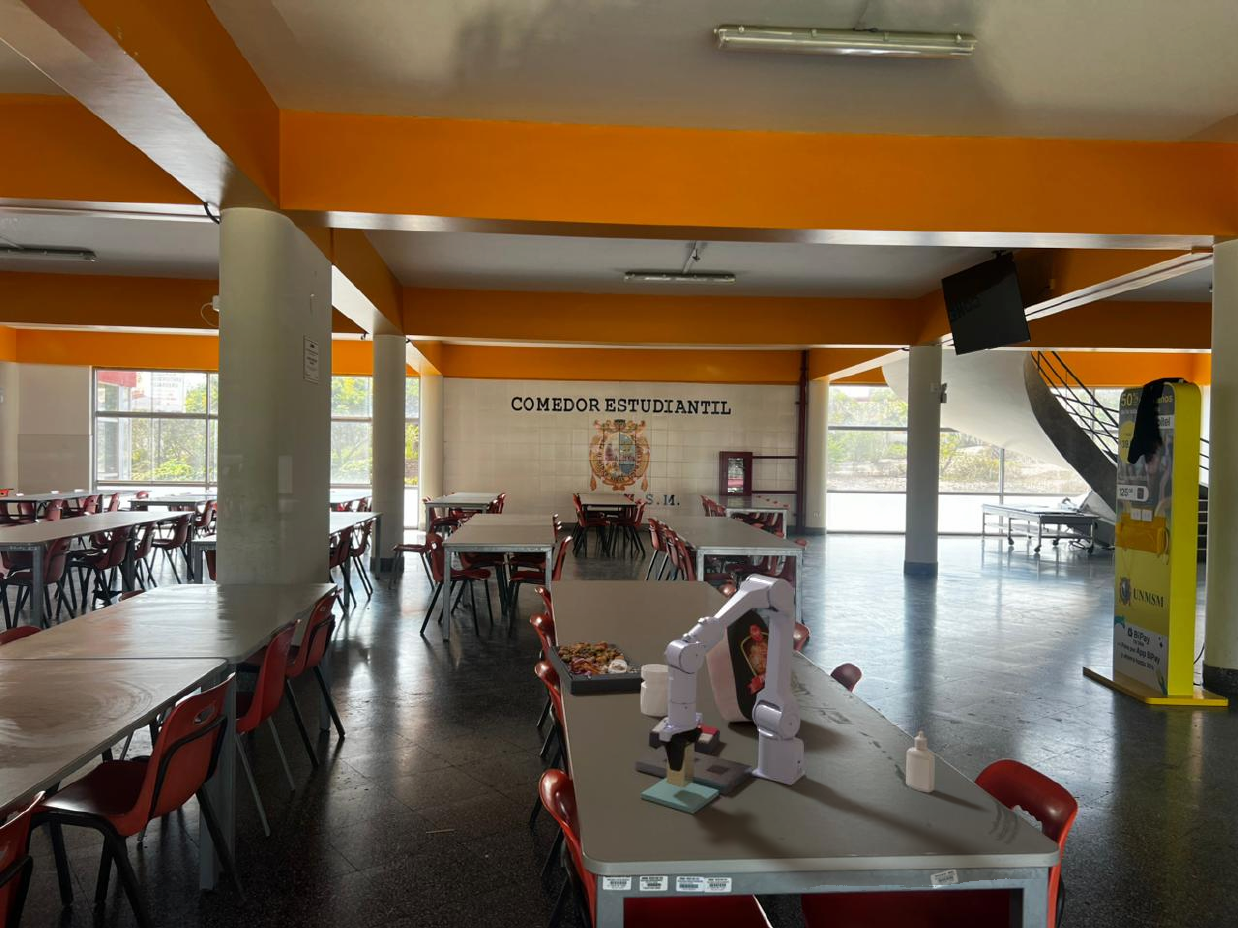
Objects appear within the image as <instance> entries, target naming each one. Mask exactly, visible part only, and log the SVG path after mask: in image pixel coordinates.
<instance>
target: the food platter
mask: <svg viewBox="0 0 1238 928" xmlns="http://www.w3.org/2000/svg"><path fill="white" fill-rule="evenodd" d="M547 658H548V660H549V661H550V663H551V664H552V666H553V668H554V670H555V672H556V673H557V675H558V676H559V678H560V679H561V681H562V682H563V684H564V685H565V688H566V689H567V691H568V692H569V694H570V695H579V694H582V695H584V694H600V693H601V694H604V693H605V694H606V693H623V692H641V684H642V683H643V682H644V681H645V680H644V679H643V678H642V677H641V668H642V667H640V665H638V664H637V662H635V661H634V660H633V659H632V658H631V657H630V656H629V655H628V654H627V653H626V652H625V651H624V650H623V649H622V648H621V647H619V646H618V645H617V644H615V643H609V644H608V643H607V641H605V640H602V641H600V642H599V643H598V644H591V642H588V641H587V642H583V641H579V642H578V643H576V642H574V643H572V644H571V645H568V644H567V645H566V644H565V645H555V646H553V645H552V646H550V645H549V646H547Z"/></svg>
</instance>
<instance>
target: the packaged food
mask: <svg viewBox="0 0 1238 928" xmlns="http://www.w3.org/2000/svg"><path fill="white" fill-rule="evenodd" d="M768 640H769V627H768V625H767V623H766V622H765V620H764V618H762V616H761V614H759V612H757V611H756V610H754V609H753V608H751V609H749V610H748V611H747V612H746V613H744V614H743V615H742V616H741V617H739V618H738V619H737V620H736V621H734V622H733V623H732V624H731V625H729V626H728V627H727V628H726V629H725V635H724V638H723V639H722V640H721V641H720V642H719V643H718V644H717V645H715V646H714V647H713V648H712V649H711V650H710V651H709V652H708V653H707V654H706V663H707V669H708V675H709V681H710V684H711V690H712V693H713V695H714V696H713V697H714V699H715V700H714V701H715V703H716V707H717V709H718V712H719V713H720V715H721V716H722V717H723V719H724V720H725V721H727V722H731V723H735V722H736V723H737V722H754V721H753V717H752V712H753V708H754V706H755V703H756V700H757V694H758V693H759V692H760V691H762V690H763V689H764V688H765V679H766V666H767V653H768Z"/></svg>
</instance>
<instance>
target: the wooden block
mask: <svg viewBox="0 0 1238 928" xmlns="http://www.w3.org/2000/svg"><path fill="white" fill-rule="evenodd" d="M693 779H694V742H690V741H687V743H686V746H685V749H684V752H683V758H682V766H681V770H680V771H679V772H678V771H674V770H670V766H669V762H668V757H667V783H668V784H672V785H675V786H679V787H682V788H685V787H686V786H688V785H689V784H691V783H692V782H693Z"/></svg>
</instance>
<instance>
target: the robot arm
mask: <svg viewBox="0 0 1238 928" xmlns="http://www.w3.org/2000/svg"><path fill="white" fill-rule="evenodd" d="M795 592H796V590H795V588H794V587H793V585H791V583H789V581H788V580H786V579H784V578H775V577H770V576H766V575H761V574H758V573H752V574H750V575H749V576H747V578H746V579H745V580H743V581H742V582H740V585H739V589H738V591H737V592H735V594H734V595H733V596H732V597H731V598H730V599H729V600H728V601H727V602H726V603H725V604H724V605H723V607H721V609H719V611H717V613H715V615H714V616H704V617H700V618H699V619H698V620H697V622H698V623H697V624H696V625H694V626H693V627H692V628H691V629H690V630H689V631H688V632H687V633H686V632H685V633H684V634H683V635H682V637H681V639H675V640H673V641H671V642H670V643H669V644H668V645H667V646H666V649H665V652H663V653H662V654H663V661H664V663H665V665H667V666H668V673H669V695H668V715H667V716H665V717H664V718H663V719H662V720H663V722H664V723H665V725H664V727H663V728H662V729H661V730H660V734H659V739H660V740H661V742H662V743H663V745H664V748H665V750H666V753H667V757H668V762H669V766H670V770H674V771H678V772H679V771H680V770H681V766H682V758H683V752H684V749H685V746H686V743H687V741H690V742H694V751H695V748H696V745H697V742H698V740H699V738H700V736H701V734H702V732H703V729H702V728H699V727H697V724H698V725H702V724H703V717H704V716H703V713H701V712H697V688H698V687H697V684H698V683H697V682H698V681H697V680H698V670H701V668H702V666H703V664H704V661H705V658H707V655H706V654H707V653H708V652H709V651H710V650H711V649H712V648H713V647H714V646H715V645H717V644H718V643H719V642H720V641H721V640H722V639H723V638H724V635H725V629H726V628H727V627H728V626H729V625H731V624H732V623H733V622H734V621H736V620H737V619H738V618H739V617H741V616H742V615H743V614H744V613H746V612H747V611H748V610H749V609H761V610H762V611H764V613H765V614H766V615H767V616H768V617H769V627H768V629H769V640H768V653H767V666H766V679H765V688H764V689H763V690H762V691H760V692H759V693H758V694H757V700H756V703H755V706H754V708H753V712H752V717H753V721H752V722H754V724H755V725H756V727H757V732H758V763H757V764H758V765H757V766H758V767H757V768H755V769H754V770H753V771H752V773H751V776H755V777H758V778H761V779H765V780H770V781H774V782H777V783H780V784H781V783H782V784H786V785H789V786H793V784H795V783H796V782H797V781H799V779H801V778H802V777H803V776H804V775H805V771H804V765H805V764H804V763H805V762H804V760H805V746H804V744H805V743H804V741H803V739H801V738H797V737H795V735H797V733H798V731H799V730H800V727H801V716H800V713H799V702H798V701H797V699H796V698H795V696H794V695H793V693H792V692H791V682H792V681H791V680H792V669H793V668H792V667H793V656H794V655H793V654H794V641H795V631H796V629H795V628H796V617H797V616H796V614H797V610H796V605H795Z"/></svg>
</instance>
